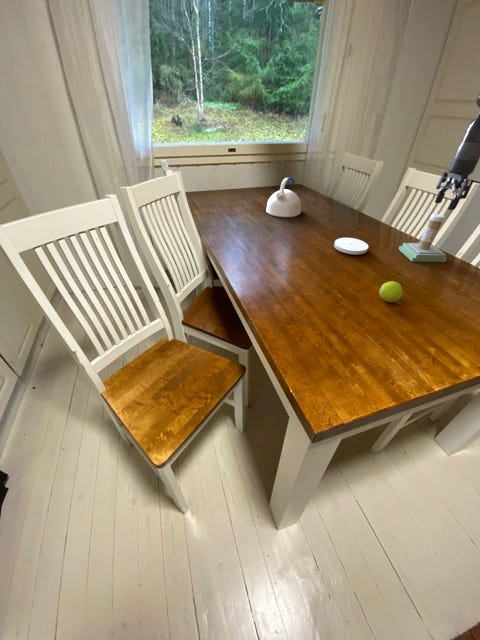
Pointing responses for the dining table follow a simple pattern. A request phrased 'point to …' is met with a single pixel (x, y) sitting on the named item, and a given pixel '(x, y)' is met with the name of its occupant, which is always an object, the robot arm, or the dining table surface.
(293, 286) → the dining table surface
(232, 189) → the dining table surface
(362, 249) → the plastic lid
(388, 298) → the tennis ball
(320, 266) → the dining table surface
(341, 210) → the dining table surface
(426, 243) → the sprinkles bottle
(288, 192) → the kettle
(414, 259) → the scale
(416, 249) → the pan
